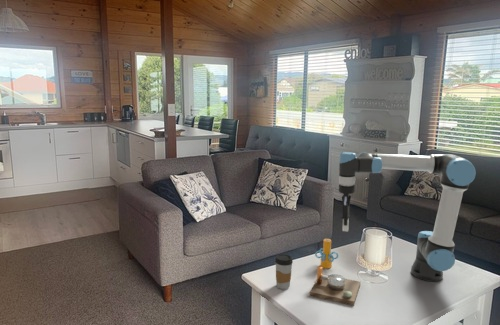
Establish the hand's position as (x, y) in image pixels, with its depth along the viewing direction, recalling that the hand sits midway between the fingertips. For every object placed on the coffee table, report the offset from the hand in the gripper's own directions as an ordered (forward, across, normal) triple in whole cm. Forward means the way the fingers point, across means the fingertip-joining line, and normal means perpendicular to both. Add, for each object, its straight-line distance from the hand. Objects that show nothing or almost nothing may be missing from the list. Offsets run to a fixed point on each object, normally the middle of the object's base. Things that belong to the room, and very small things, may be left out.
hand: (345, 230), depth 191 cm
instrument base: (+25, -13, +2) cm, 29 cm away
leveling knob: (+23, -13, +5) cm, 27 cm away
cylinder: (+26, +11, +11) cm, 30 cm away
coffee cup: (+25, -19, +27) cm, 41 cm away
